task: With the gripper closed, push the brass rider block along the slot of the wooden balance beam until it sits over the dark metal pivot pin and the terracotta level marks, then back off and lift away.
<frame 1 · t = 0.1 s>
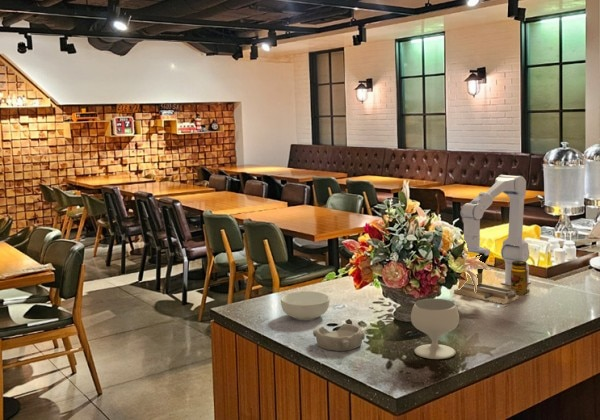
hand: (471, 271, 264), 10 cm above the counter, fingers open, 7 cm apart
condiment: (519, 292, 271), on the counter
chalice: (434, 353, 209), on the counter
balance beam: (485, 295, 267), on the counter
dish: (339, 345, 219), on the counter
rider: (472, 279, 271), point 5 cm above the counter, slide at -6.0 cm
cereal bowl: (305, 317, 248), on the counter
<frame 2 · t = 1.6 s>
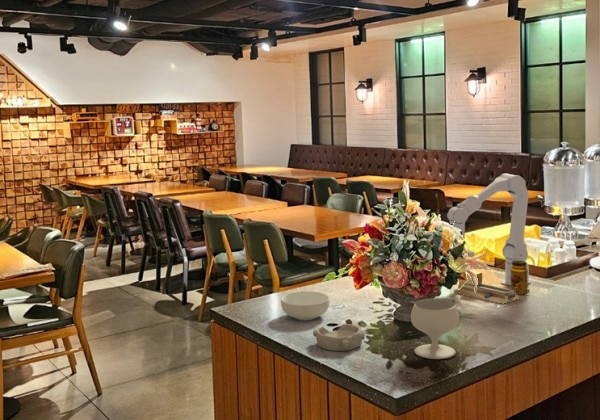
hand: (456, 272, 276), 7 cm above the counter, fingers closed
nothing on the counter moved.
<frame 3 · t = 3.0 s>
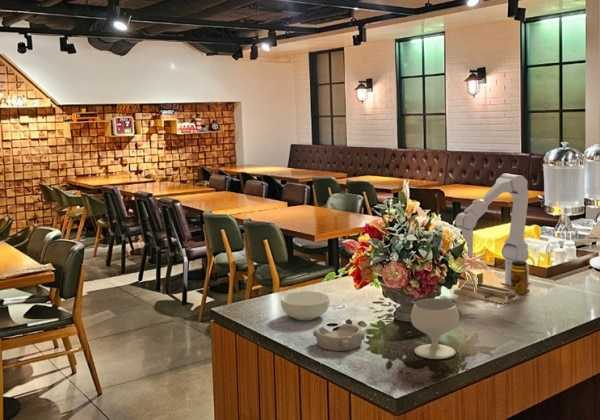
hand: (464, 278, 274), 5 cm above the counter, fingers closed
rider: (473, 279, 271), point 5 cm above the counter, slide at -5.7 cm, touching gripper
everything else where it was.
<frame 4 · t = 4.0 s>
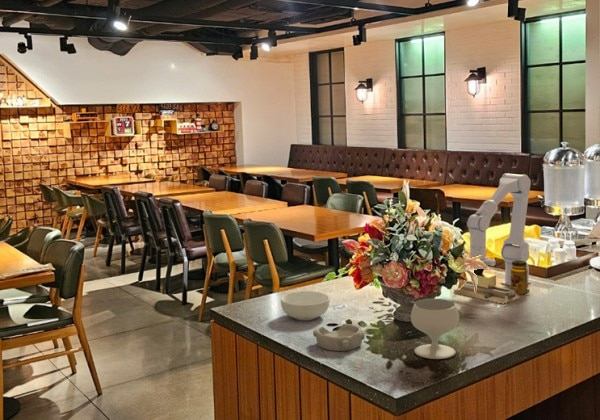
hand: (477, 281, 269), 5 cm above the counter, fingers closed
rider: (486, 282, 266), point 5 cm above the counter, slide at 0.1 cm, touching gripper
everything else where it was.
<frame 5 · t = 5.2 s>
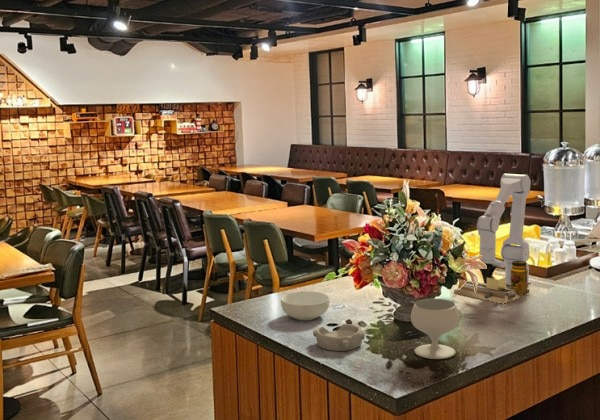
hand: (487, 283, 266), 5 cm above the counter, fingers closed
rider: (496, 284, 263), point 5 cm above the counter, slide at 4.5 cm, touching gripper
everything else where it was.
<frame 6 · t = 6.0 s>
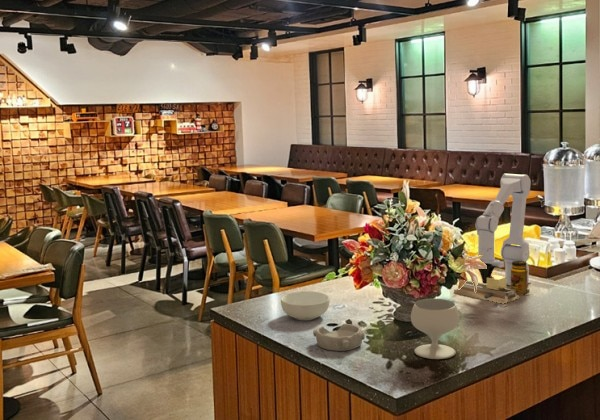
hand: (485, 283, 266), 5 cm above the counter, fingers closed
rider: (496, 284, 263), point 5 cm above the counter, slide at 4.5 cm
everything else where it was.
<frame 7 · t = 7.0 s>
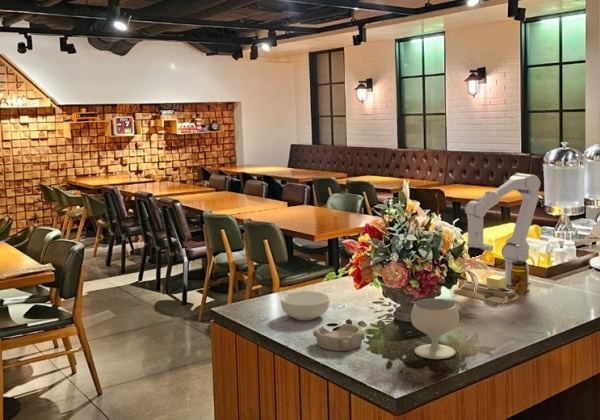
hand: (475, 266, 274), 9 cm above the counter, fingers closed
nothing on the counter moved.
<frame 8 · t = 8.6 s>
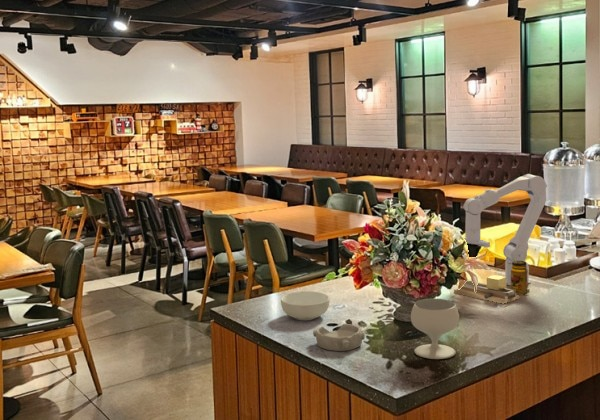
hand: (472, 262, 280), 9 cm above the counter, fingers closed
nothing on the counter moved.
at the end: rider slide at 4.5 cm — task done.
